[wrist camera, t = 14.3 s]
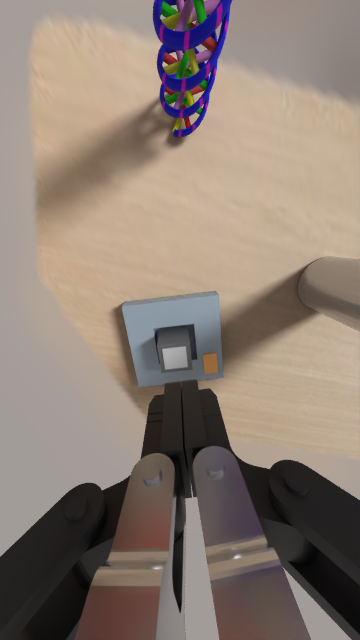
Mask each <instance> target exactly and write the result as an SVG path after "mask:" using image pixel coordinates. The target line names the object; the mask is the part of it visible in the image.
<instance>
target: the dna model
mask: <svg viewBox="0 0 360 640" xmlns="http://www.w3.org/2000/svg"><path fill="white" fill-rule="evenodd" d="M231 2H232V0H208V1H205V2H204V1H203V0H155V1H154V6H153V22H154V27H155V31H156V34H157V36H158V38H159V40H160V41H161V42H162V43H163V45H162V46H161V48H160V50H159V52H158V58H157V69H158V73H159V76H160V79H161V81H162V84H161V88H160V101H161V104H162V107H163V109H164V110H165V112H166V113H167V114H169V115H170V116H172V117H174V118H177V121H176V123H175V126H174V128H173V131H172V132H173V133H174V134H173V135H174V136H175V137H184V136H187V135H189V134H190V133H192V132H193V131H194V130H195V129H196V128H197V127H198V126H199V125H200V123H201V121H202V120H203V118H204V116H205V113H206V110H207V107H208V103H209V93H210V91H211V89H212V86H213V83H214V80H215V76H216V70H217V59H218V57H219V55H220V53H221V50H222V47H223V44H224V41H225V37H226V33H227V28H228V22H229V13H230V12H229V11H230V5H231ZM171 5H177V9H178V12H177V11H176V10H175V9H173V8H172V7H171ZM161 14H162V15H163V16H165V17H166V18H165V19H163V20H161V19H160V15H161ZM195 20H197V21H196V24H193V23H192V22H193V21H195ZM221 22H222V25H221V30H220V35H219V39H218V42H217V36H216V32H215V30H216V29H217V27H218V26H219V25H220V23H221ZM174 29H175V31H174ZM200 44H202V45H203V46H204V47H206V48H207V49H208V50H205V51H203V52H200V53H199V51H198V50H197V49H196V48H195V47H196V46H198V45H200ZM173 52H176V54H177V59H178V60H176V59H175V58H174V57H172V56H171V55H169V54H170V53H173ZM183 53H184V55H183ZM207 60H208V61H207ZM163 61H164V62H165V63H167V64H168V66H166V67H163V66H162V63H163ZM204 61H207V63H206V64H205V62H204ZM210 72H211V74H210ZM209 74H210V79H209ZM204 90H205V91H204ZM202 91H204V93H203V94H202V96H201V97H200V98H199V99H198V101H197V102H195V103H194V100H193V95H194V94H197V93H199V92H202ZM165 92H167V93H168V94H170V95H171V96H168V97H166V98H164V93H165ZM174 102H176V103H175V105H174V108H173V107H171V106H170V105H169V104H171V103H174ZM203 104H204V106H203V109H202V108H201V107H202V105H203ZM180 106H181V109H180ZM195 112H196V113H198V114H199V115H200V116H199V117H198V119H197V120H196V121H195V123H193V124H192V125H191V124H190V120H189V116H191V115H193V114H194V113H195ZM183 118H184V121H185V125H186V129H182V130H178V129H179V127H180V124H181V122H182V120H183Z"/></svg>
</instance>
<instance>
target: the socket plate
mask: <svg viewBox="0 0 360 640" xmlns="http://www.w3.org/2000/svg"><path fill="white" fill-rule="evenodd" d="M121 307H122V312H123V316H124V321H125V326H126V330H127V335H128V339H129V344H130V349H131V353H132V358H133V363H134V367H135V372H136V377H137V381H138V386H139V388H140V387H149V386H157V385H165V383H169V382H176V381H181V383H182V381H184V380H191V379H197V381H200V380H209V379H218V378H223V360H222V342H221V323H220V304H219V294H218V293H217V292H216V291H211V292H203V293H194V294H186V295H177V296H169V297H161V298H152V299H144V300H136V301H127V302H125V303H124V304H123V305H122V306H121ZM181 325H187V329H188V334H189V340H190V349H191V359H192V368H193V370H185V371H176V372H167V373H161V367H160V361H159V354H158V348H157V342H158V335H159V329H160V328H163V327H172V326H181Z"/></svg>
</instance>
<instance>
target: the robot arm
mask: <svg viewBox="0 0 360 640" xmlns="http://www.w3.org/2000/svg"><path fill="white" fill-rule="evenodd" d="M298 295H299V298H300V300H301V301H302V302H303V303H304V304H305V305H306V306H308V307H309V308H312V309H314V310H316V311H318V312H320V313H322V314H324V315H326V316H328V317H330V318H332V319H334V320H337V321H339V322H341V323H343V324H345V325H347V326H349V327H351V328H353V329H356V330H358V331H360V259H351V258H340V257H324V258H320V259H318V260H316V261H314V262H313V263H311V264H310V265H309V266H308V267H307V268H306V269H305V270H304V271H303V273H302V275H301V277H300V279H299V282H298ZM190 479H191V480H190ZM191 484H192V491H193V497H197V499H198V506H199V512H200V519H201V525H202V531H203V538H204V544H205V550H206V557H207V563H208V569H209V576H210V583H211V589H212V595H213V602H214V608H215V614H216V621H217V627H218V634H219V640H311V638H310V636H309V633H308V631H307V628H306V626H305V623H304V621H303V618H302V615H301V613H300V610H299V608H298V605H297V603H296V600H295V597H294V595H293V592H292V590H291V587H290V585H289V582H288V579H287V577H286V574H285V572H284V569H283V567H284V568H285V570H286V571H287V572H288V573H289V574H290V575H291V576H292V577H293V578H294V579H295V580H296V581H297V582H298V583H299V584H300V585H301V587H302V588H303V589H304V590H305V591H306V592H307V593H308V594H309V595H310V596H311V597H312V598H313V599H314V600H315V601H316V602H317V603H318V604H319V605H320V607H321V608H322V609H323V610H324V611H325V612H326V613H327V614H328V615H329V616H330V617H331V618H332V619H333V620H334V621H335V622H336V623H337V625H339V627H340V628H341V629H342V630H343V631H344V632H345V633H346V634H347V635H348V636H349V637H350V638H351V639H352V640H360V500H358V499H357V498H355V497H354V496H352V495H351V494H349V493H348V492H346V491H344V490H343V489H341V488H340V487H338V486H337V485H335V484H333V483H332V482H331V481H329V480H327V479H326V478H324V477H323V476H321V475H320V474H318V473H317V472H315V471H314V470H312V469H310V468H309V467H307V466H305V465H304V464H302V463H299V462H297V461H293V460H282V461H279V462H277V463H275V464H274V465H273V466H272V467H271V469H267V468H262V467H257V466H253V465H250V464H247V463H245V462H244V461H242V460H241V459H239V458H238V457H237V456H236V455H235V454H234V452H233V451H232V449H231V446H230V443H229V440H228V436H227V432H226V429H225V425H224V422H223V418H222V414H221V411H220V407H219V403H218V400H217V396H216V395H215V394H214V393H213V391H212V390H211V389H210V388H209V389H202V390H199V389H198V383H197V379H191V380H184V381H182V386H181V381H176V382H169V383H165V391H164V395H156V396H154V398H153V399H152V401H151V402H150V404H149V409H148V416H147V424H146V429H145V435H144V442H143V448H142V455H141V459H140V460H139V461H138V463H137V464H136V465H135V466H134V468H133V470H132V472H131V475H130V476H129V477H128V478H126V479H125V480H123V481H121V482H120V483H117V484H115V485H113V486H111V487H109V488H107V489H105V490H101V488H100V487H99V486H98V485H96V484H94V483H85V484H81V485H78V486H76V487H75V488H73V489H72V490H70V491H69V492H68V493H66V494H65V495H64V496H63V497H62V498H61V499H60V500H59V501H58V502H57V503H56V504H55V505H54V506H53V507H52V508H51V509H50V510H49V511H48V512H47V513H46V514H45V515H43V517H42V518H40V519H39V520H38V521H37V522H36V523H35V524H34V525H33V526H32V527H31V528H30V529H29V530H28V531H27V532H26V533H25V534H24V535H23V536H22V537H21V538H20V539H19V540H18V541H16V542H15V543H14V544H13V545H12V546H11V547H10V548H9V549H8V550H7V551H6V552H5V553H4V554H3V555H2V556H1V557H0V640H186V633H185V612H184V611H185V558H186V557H185V556H186V555H185V554H186V552H185V551H186V506H185V498H191V497H192V494H191ZM282 566H283V567H282Z"/></svg>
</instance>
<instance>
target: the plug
mask: <svg viewBox="0 0 360 640" xmlns="http://www.w3.org/2000/svg"><path fill="white" fill-rule="evenodd" d="M157 348H158V354H159V361H160V367H161V373H167V372H176V371H185V370H193V368H192V359H191V349H190V340H189V334H188V329H187V325H181V326H172V327H163V328H160V329H159V335H158V342H157Z"/></svg>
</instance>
